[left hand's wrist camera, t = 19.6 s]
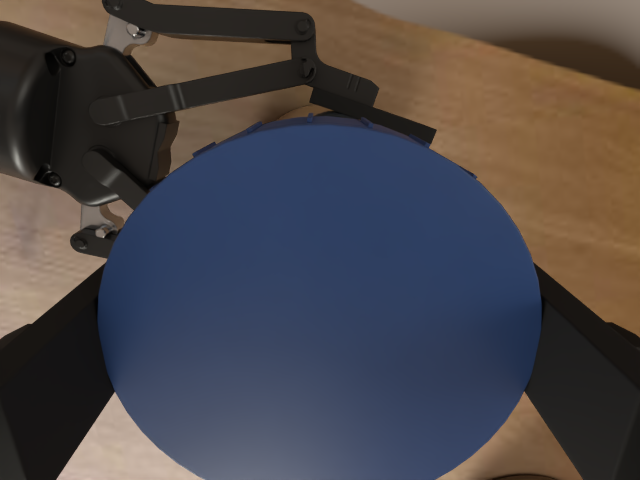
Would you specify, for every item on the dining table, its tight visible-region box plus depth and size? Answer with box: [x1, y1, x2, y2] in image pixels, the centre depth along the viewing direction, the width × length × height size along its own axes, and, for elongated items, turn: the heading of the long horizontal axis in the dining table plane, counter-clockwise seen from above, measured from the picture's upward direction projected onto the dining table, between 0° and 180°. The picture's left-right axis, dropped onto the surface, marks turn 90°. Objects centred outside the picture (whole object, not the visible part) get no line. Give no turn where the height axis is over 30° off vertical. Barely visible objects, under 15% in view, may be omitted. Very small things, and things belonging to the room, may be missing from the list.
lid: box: [97, 113, 542, 480], centre depth 11 cm, size 11×11×2 cm
